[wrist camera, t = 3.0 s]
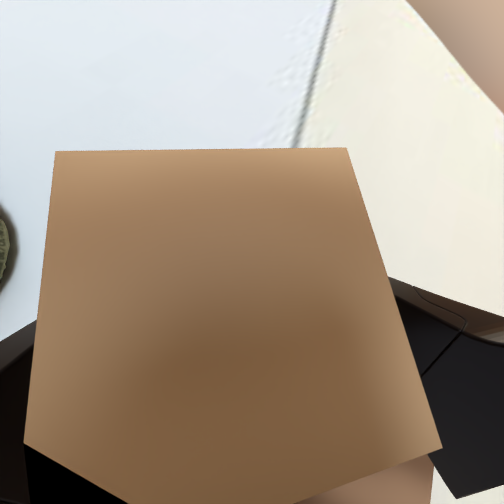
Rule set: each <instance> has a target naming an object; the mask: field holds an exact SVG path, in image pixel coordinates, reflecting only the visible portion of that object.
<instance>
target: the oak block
mask: <svg viewBox="0 0 504 504" xmlns="http://www.w3.org/2000/svg"><path fill="white" fill-rule="evenodd" d="M441 448H443V447H442V444H441V441H440V438H439V435H438V432H437V429H436V426H435V422H434V419H433V416H432V413H431V410H430V407H429V404H428V401H427V397H426V394H425V391H424V388H423V385H422V382H421V379H420V376H419V373H418V369H417V366H416V363H415V360H414V357H413V354H412V351H411V348H410V344H409V341H408V338H407V335H406V332H405V329H404V326H403V323H402V320H401V316H400V313H399V310H398V307H397V304H396V301H395V298H394V295H393V292H392V288H391V285H390V282H389V279H388V276H387V273H386V270H385V267H384V263H383V260H382V257H381V254H380V251H379V248H378V245H377V242H376V239H375V235H374V232H373V229H372V226H371V223H370V220H369V217H368V214H367V210H366V207H365V204H364V201H363V198H362V195H361V192H360V189H359V186H358V182H357V179H356V176H355V173H354V170H353V167H352V164H351V161H350V157H349V154H348V151H347V148H273V149H192V150H111V151H55V160H54V169H53V178H52V187H51V196H50V206H49V215H48V224H47V233H46V242H45V251H44V260H43V269H42V279H41V288H40V297H39V306H38V315H37V324H36V333H35V342H34V351H33V361H32V370H31V379H30V388H29V397H28V406H27V415H26V424H25V434H24V452H25V461H26V470H27V479H28V487H29V496H30V504H294V503H296V502H299V501H302V500H304V499H307V498H310V497H313V496H315V495H318V494H321V493H323V492H326V491H329V490H331V489H334V488H337V487H339V486H342V485H345V484H347V483H350V482H353V481H355V480H358V479H361V478H363V477H366V476H369V475H371V474H374V473H377V472H380V471H382V470H385V469H388V468H390V467H393V466H396V465H398V464H401V463H404V462H406V461H409V460H412V459H414V458H417V457H420V456H422V455H425V454H428V453H430V452H433V451H436V450H439V449H441Z"/></svg>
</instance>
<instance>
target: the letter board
mask: <svg viewBox="0 0 504 504" xmlns="http://www.w3.org/2000/svg"><path fill="white" fill-rule="evenodd" d="M433 470H434V465H433V463H432V462H431V460H430V458H429V457H428V455H427V454H425V455H422V456H420V457H417V458H414V459H412V460H409V461H406V462H404V463H401V464H398V465H396V466H393V467H390V468H388V469H385V470H382V471H380V472H377V473H374V474H371V475H369V476H366V477H363V478H361V479H358V480H355V481H353V482H350V483H347V484H345V485H342V486H339V487H337V488H334V489H331V490H329V491H326V492H323V493H321V494H318V495H315V496H313V497H310V498H307V499H304V500H302V501H299V502H296V503H294V504H430V499H431V490H432V480H433Z"/></svg>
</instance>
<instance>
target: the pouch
mask: <svg viewBox="0 0 504 504" xmlns="http://www.w3.org/2000/svg"><path fill="white" fill-rule="evenodd" d="M9 247H10V243H9V236H8V230H7V228H6V225H5V223H4V221H2V220H1V219H0V279H1V278H2V275H3V271H4V269H5V268H6V265H5V263H6V260H7V255H8V251H9Z"/></svg>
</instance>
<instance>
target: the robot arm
mask: <svg viewBox="0 0 504 504" xmlns="http://www.w3.org/2000/svg"><path fill="white" fill-rule="evenodd" d="M388 279H389V282H390V285H391V288H392V292H393V295H394V298H395V301H396V304H397V307H398V310H399V313H400V316H401V320H402V323H403V326H404V329H405V332H406V335H407V338H408V341H409V344H410V348H411V351H412V354H413V357H414V360H415V363H416V366H417V369H418V373H419V376H420V379H421V382H422V385H423V388H424V391H425V394H426V397H427V401H428V404H429V407H430V410H431V413H432V416H433V419H434V422H435V426H436V429H437V432H438V435H439V438H440V441H441V444H442V447H443V448H441V449H439V450H436V451H433V452H430V453H428V454H427V455H428V457H429V458H430V460H431V462H432V463H433V465H434V466H435V468H436V469H437V471H438V473H439V474H440V476H441V477H442V479H443V481H444V482H445V484H446V485H447V487H448V488H449V490H450V491H451V493H452V494H453V496H454V497H455V498H456V499H459V498H462V497H466V496H469V495H472V494H475V493H479V492H482V491H485V490H488V489H491V488H495V487H498V486H501V485H504V317H502V316H499V315H496V314H493V313H490V312H487V311H484V310H481V309H478V308H475V307H472V306H469V305H466V304H463V303H460V302H457V301H454V300H451V299H448V298H445V297H442V296H439V295H437V294H434V293H431V292H428V291H426V290H423V289H420V288H418V287H415V286H411V285H410V284H407V283H404V282H402V281H399V280H396V279H394V278H391V277H388ZM36 324H37V320H35V321H34V322H32V323H30V324H29V325H27V326H25V327H24V328H22V329H20V330H19V331H17V332H15V333H14V334H12V335H10V336H9V337H7V338H5V339H4V340H2V341H1V342H0V504H30V496H29V487H28V479H27V470H26V461H25V452H24V434H25V424H26V415H27V406H28V397H29V388H30V379H31V370H32V361H33V351H34V342H35V333H36Z"/></svg>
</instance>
